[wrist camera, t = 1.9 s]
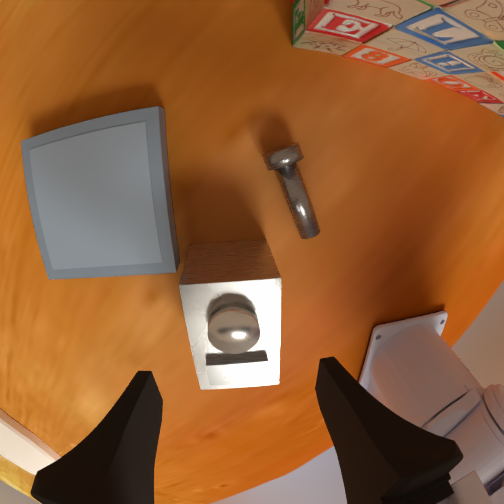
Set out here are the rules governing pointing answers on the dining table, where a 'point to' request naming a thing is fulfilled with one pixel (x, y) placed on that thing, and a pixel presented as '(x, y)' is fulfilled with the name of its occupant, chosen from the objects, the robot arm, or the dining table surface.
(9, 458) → the decorative plate
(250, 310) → the housing
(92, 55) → the dining table surface
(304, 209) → the loose bolt
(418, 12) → the stack of blocks
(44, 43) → the dining table surface
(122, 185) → the stand
